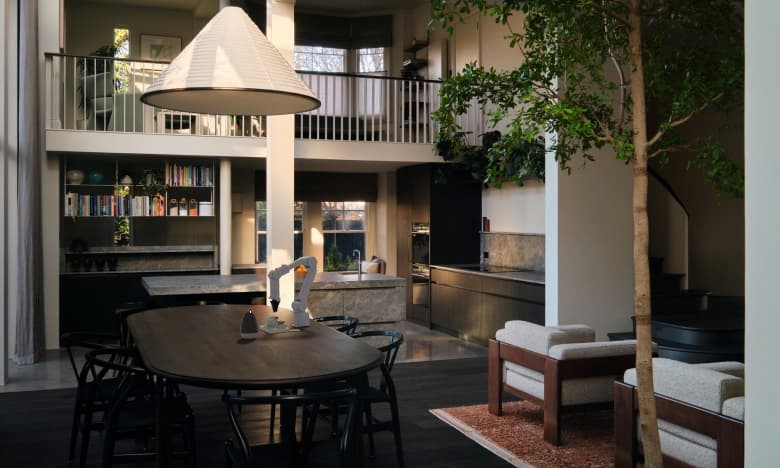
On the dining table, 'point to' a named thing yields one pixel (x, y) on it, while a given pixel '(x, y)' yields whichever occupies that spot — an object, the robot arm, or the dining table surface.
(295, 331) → the coaster
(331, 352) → the dining table surface
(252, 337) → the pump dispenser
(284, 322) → the plunger
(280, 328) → the housing
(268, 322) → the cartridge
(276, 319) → the plunger
